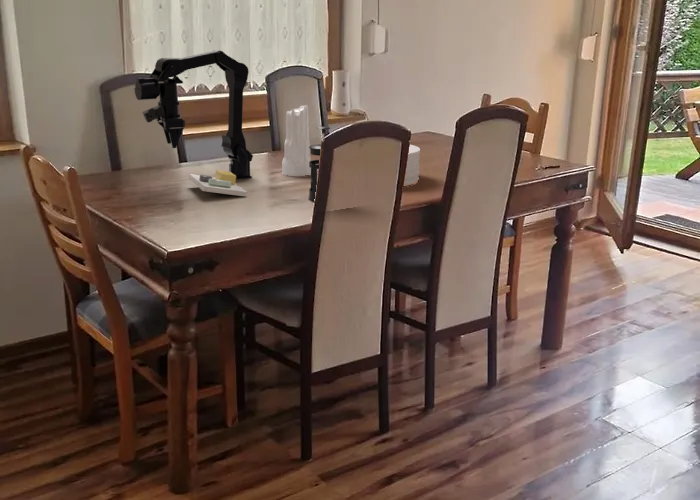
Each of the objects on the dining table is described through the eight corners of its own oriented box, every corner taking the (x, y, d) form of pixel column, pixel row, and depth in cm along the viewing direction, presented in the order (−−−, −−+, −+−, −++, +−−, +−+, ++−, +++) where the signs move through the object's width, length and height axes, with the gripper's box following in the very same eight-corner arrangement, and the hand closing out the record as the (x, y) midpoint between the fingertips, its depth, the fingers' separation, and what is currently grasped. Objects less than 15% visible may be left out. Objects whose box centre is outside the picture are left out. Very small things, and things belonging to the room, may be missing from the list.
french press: (300, 199, 246) (300, 126, 240) (319, 194, 254) (319, 123, 247) (329, 205, 240) (330, 130, 233) (348, 200, 247) (349, 127, 240)
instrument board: (228, 183, 266) (231, 170, 265) (246, 196, 248) (248, 182, 247) (188, 178, 260) (190, 165, 259) (203, 191, 242) (205, 176, 241)
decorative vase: (277, 175, 282) (276, 105, 274) (290, 169, 291) (289, 102, 284) (304, 177, 278) (304, 107, 271) (316, 172, 287) (317, 103, 280)
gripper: (139, 96, 260) (142, 142, 264) (147, 102, 243) (151, 152, 248) (172, 94, 264) (175, 140, 268) (183, 101, 247) (186, 150, 252)
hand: (171, 145), depth 259 cm, fingers open, 9 cm apart
